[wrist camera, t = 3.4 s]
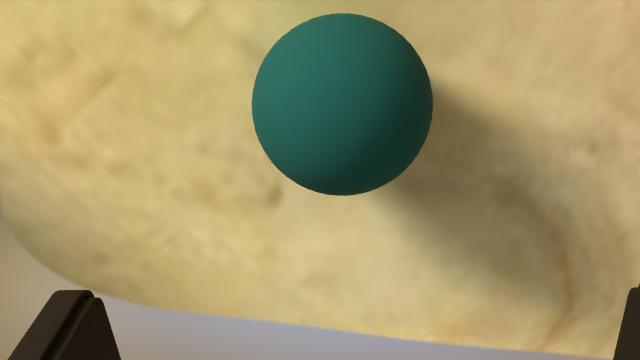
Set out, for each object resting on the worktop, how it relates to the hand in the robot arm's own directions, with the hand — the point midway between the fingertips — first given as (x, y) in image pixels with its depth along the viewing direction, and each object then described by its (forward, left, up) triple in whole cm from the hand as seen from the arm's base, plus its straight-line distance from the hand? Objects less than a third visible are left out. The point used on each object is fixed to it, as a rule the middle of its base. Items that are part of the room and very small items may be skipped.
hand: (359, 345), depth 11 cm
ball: (0, 0, -14) cm, 14 cm away
